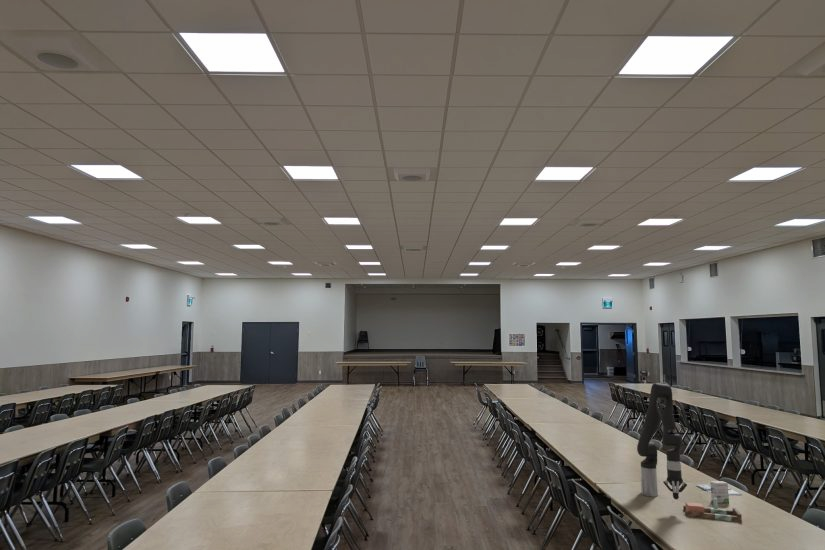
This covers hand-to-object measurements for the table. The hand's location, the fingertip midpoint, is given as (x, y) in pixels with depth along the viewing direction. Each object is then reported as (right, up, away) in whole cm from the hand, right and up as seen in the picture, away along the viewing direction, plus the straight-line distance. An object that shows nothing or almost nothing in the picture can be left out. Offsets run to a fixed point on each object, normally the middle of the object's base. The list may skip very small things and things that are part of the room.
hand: (676, 499), depth 290 cm
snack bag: (+50, -13, +40) cm, 66 cm away
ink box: (+37, -10, +18) cm, 43 cm away
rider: (+9, -7, -4) cm, 12 cm away
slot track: (+17, -7, -6) cm, 20 cm away
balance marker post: (+25, -8, +2) cm, 26 cm away
